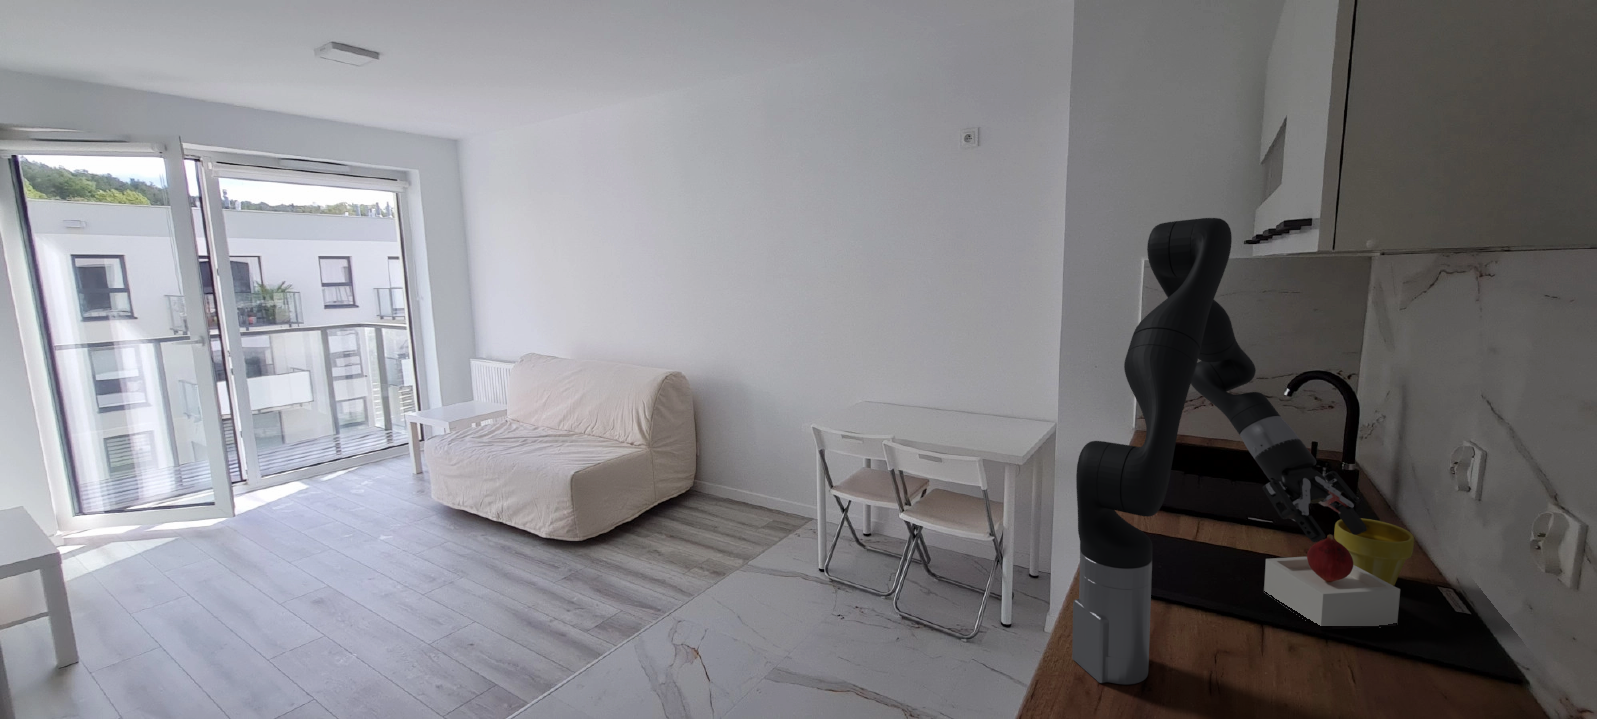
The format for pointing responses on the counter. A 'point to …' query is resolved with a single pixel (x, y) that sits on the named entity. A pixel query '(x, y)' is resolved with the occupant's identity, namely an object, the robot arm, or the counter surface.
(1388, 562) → the plant pot
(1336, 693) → the counter surface
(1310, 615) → the tray
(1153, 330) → the robot arm
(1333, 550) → the onion
